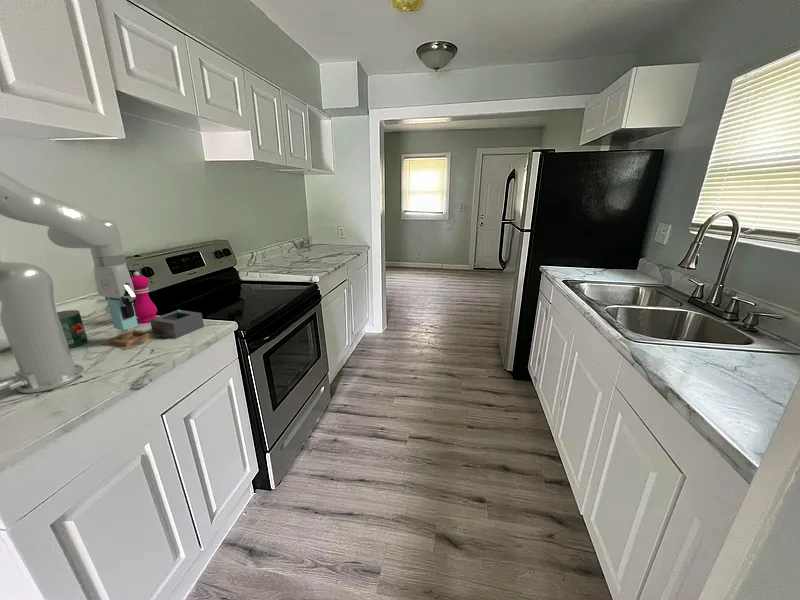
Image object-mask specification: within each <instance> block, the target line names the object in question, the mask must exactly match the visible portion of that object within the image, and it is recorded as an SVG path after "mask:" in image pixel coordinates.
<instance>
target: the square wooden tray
mask: <svg viewBox="0 0 800 600" xmlns="http://www.w3.org/2000/svg"><path fill="white" fill-rule="evenodd" d="M158 337H159V335H155V334H153V332H147V331H142V330H137V329H133V330H130V331H127V332H124V333H121V334H119V335H116V336H113V337H112V336H111V337H110V338H107V340H106V341H107V342H103V343H102V344H101V345H102V346H108V347H113V348H117V349H121V350H127V349H129V348H133V347H135V346H138V345H140V344H142V343H145V342H147V341H150V340H153V339H155V338H158Z"/></svg>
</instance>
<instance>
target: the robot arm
mask: <svg viewBox="0 0 800 600" xmlns="http://www.w3.org/2000/svg"><path fill="white" fill-rule="evenodd" d="M0 216H2V217H5V218H8V219H11V220H15V221H19V222H23V223H28V224H33V225H39V226H44V227H47V228H48V229H47V237H48V239H49V241H51V242H52V243H53V244H54V245H56V246H59V247H61V248H67V249H87V250H88V249H89V250H90V252H91V253H90V254H91V257H92V260H93V264H94V276H95V277H94V278H95V283H96V289H97V293H98V295H100V296H101V297H104V298H105V299H106V300H107V299H109V298H116V299H119V300H120V303H121V305H122V307H121V311H122V315H123V318H124V319H126V318H129V317H133V316H135V314H134V310H133V306H134V301H135V298H136V296H135V294H134V287H133V283H132V280H131V277H132V276H131V274H130V272H129V269H128V267H127V260H126V256H125V251H124V247H123V243H122V240H121V239H122V238H121V235H120V231H119V227H118V224H117V223H116V221H113V220H107V219H106V220H105V219H103V220H102V219H98V218H97V217H95V216H94V215H93V214H90V213H89V212H87V211H86V210H83V209H82V208H79V207H77V206H75V205H73V204H70V203H67V202H64V201H63V200H60V199H57V198H54V197H52V196H51V195H48V194H44V193H41V192H40V191H36V190H34V189H32V188H31V187H28V186H26V185H25V184H24V183H22V182H20V181H18V180H16V179H14V178H13V177H12V176H10V175H8V174H7V173H5V172H3V171H1V170H0ZM54 291H55V289H54V282H53V279H52V277H51V275H50V274H49V273H48V271H46V270H45V269H43V268H41V267H40V266H37V265H35V264H30V263H24V262H7V261H6V262H5V261H3V262H2V261H1V262H0V303H1V310H0V323H1V327H2V329H3V332H4V334H5V337H6V338H7V342H8V344H9V346H10V349H11V351H12V354H13V356H14V360H15V362H16V364H17V367H18V369H19V370H16V371H14V376H11V378H10V379H7V380H2V381H0V391H1V392H2V391H4V390H6V389H8V390H10V391H12V390H15V389H16V390H17V392H20V393H24V394H25V393H26V394H30V393H31V394H32V393H39V392H45V391H46V392H47V391H49V390H54V389H57V388H60V387H63V386H65V385H68V384H70V383H72V382H74V381H76V380H78V379H79V378H81V377H82V375H83V374H85V373H84V372H85V368H84V366H82V365H80V364H75V362H74V359H73V356H72V353H71V351H70V348H69V347H68V344H67V341H66V338H65V335H64V332H63V329H62V326H61V323H60V320H59V317H58V314H57V312H58V310H57V308H56V304H55V302H56V301H55V298H54V297H55V294H54V293H55V292H54ZM124 294H126V296H124ZM124 298H127V299H126V300H125V301H124Z"/></svg>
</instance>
